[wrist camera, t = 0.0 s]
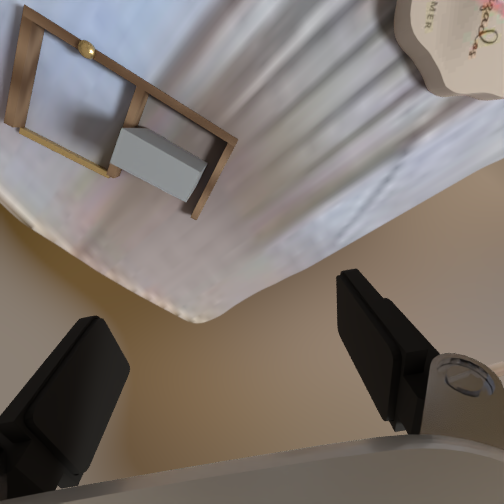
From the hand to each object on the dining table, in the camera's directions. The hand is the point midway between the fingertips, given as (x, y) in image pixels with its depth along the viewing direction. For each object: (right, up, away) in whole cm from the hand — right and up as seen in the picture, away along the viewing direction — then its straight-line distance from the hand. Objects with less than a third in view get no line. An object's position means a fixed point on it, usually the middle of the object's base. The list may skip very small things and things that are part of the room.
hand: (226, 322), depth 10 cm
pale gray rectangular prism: (-10, +16, +26) cm, 33 cm away
